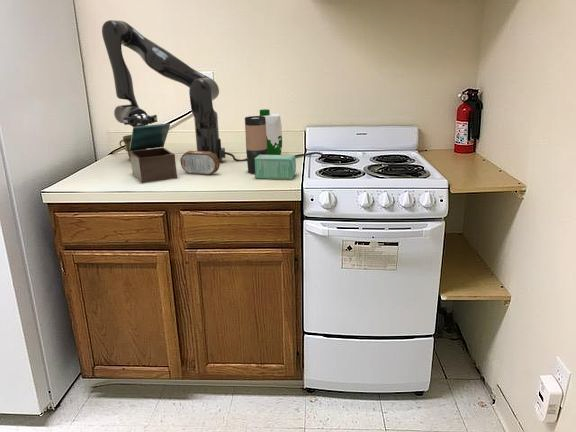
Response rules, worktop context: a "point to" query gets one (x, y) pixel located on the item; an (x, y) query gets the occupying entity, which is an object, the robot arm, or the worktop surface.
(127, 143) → the ceramic cup
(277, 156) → the box
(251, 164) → the travel mug
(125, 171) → the worktop surface
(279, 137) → the milk carton
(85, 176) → the worktop surface
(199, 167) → the tin
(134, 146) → the lid
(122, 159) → the worktop surface
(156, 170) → the chest
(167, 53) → the robot arm
